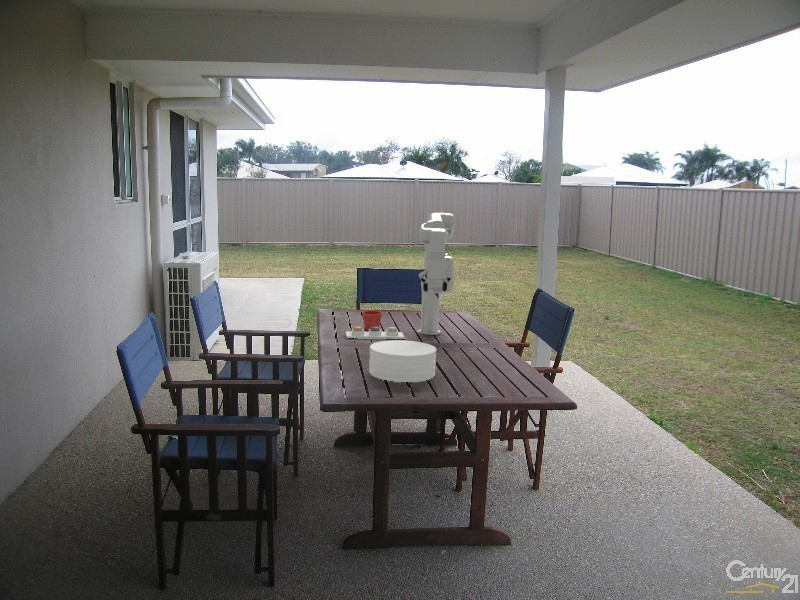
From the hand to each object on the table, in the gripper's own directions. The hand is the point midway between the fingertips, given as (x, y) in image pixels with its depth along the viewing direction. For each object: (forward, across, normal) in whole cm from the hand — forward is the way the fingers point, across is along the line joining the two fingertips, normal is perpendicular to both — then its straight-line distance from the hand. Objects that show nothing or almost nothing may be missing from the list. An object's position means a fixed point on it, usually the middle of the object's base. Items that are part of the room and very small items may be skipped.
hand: (434, 291), depth 337 cm
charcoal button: (+26, +19, -33) cm, 46 cm away
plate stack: (+29, +29, +38) cm, 56 cm away
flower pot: (+30, +15, -52) cm, 61 cm away
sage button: (+26, +10, -31) cm, 42 cm away
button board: (+29, +19, -33) cm, 48 cm away
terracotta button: (+26, +28, -35) cm, 52 cm away
